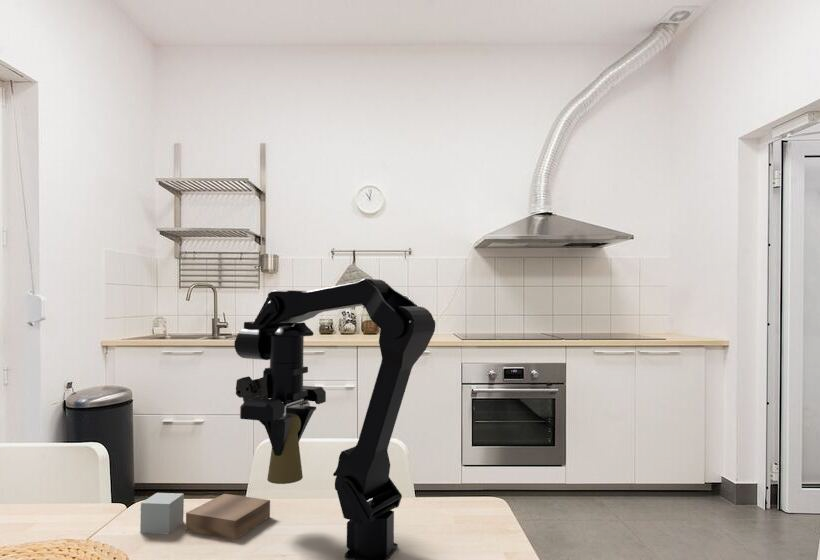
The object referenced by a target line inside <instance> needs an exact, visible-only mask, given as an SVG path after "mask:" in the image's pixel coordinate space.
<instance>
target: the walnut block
mask: <svg viewBox="0 0 820 560" xmlns="http://www.w3.org/2000/svg"><path fill="white" fill-rule="evenodd" d="M270 517H271V500H270V499H266V498H257V497H251V496H250V497H249V496H243V495H237V494H231V493H223V494H221V495H219V496H217V497H215V498H212V499H211V500H209V501H207V502H205V503H203V504H201V505H199V506H196V507H195V508H193V509H191V510H189V511H187V512H186V513H185V532H191V533H196V534H202V535H207V536H213V537H218V538H224V539H225V538H226V539H231V540H237V539H238V538H240V537H242V535H245V534H246V533H248V532H249V531H251V530H253V529H254V528H255V527H256V526H258V525H260V524H261V523H264V521H266V520H267V519H269V518H270Z"/></svg>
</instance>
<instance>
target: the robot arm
mask: <svg viewBox="0 0 820 560" xmlns="http://www.w3.org/2000/svg"><path fill="white" fill-rule="evenodd" d="M267 293H268V294H267V297H266V298H265V301H264V303H263V305H262V306H261V309H260V310H259V313H258V314H257V316H256V317H255V319H254V321H244V322H243V328H242V329H241V330H240V331H239V332H238V333H237V336H236V338H235V340H234V349H235V352H236V354H237V356H239V357H241V358H242V359H248V360H249V359H250V360H262V361H269V367H265V368H264V370H263V373H262V377H259V378H255V379H252V377H250V376H245V377H241V378H238V379H236V385H235V395H236V396H237V397H238V398H242V401H243V403H242V404H241V405H240V407H239V412H240V413H239V419H240V420H250V421H259V422H260V424H261V425H263V427H264V428H265V431H266V434H267V435H268V439H269V442H270V444H271V449H272V448H273V451H274V454H275V455H276V456H280V455H281V454H282V451H283V448H284V445H285V441H286V438H287V434H288V430H289V427H290V423H291V419H292V416H286V413H290V414H296V415H297V416H299V418H300V420H301V428H300V430H299V432H298V441H299V442H300V440H301V438H302V437H303V435H304V434H303V433H304V432H305V430H306V427H307V425H308V423H309V422H310V419H311V417H312V416H313V414H314V411H316V410H317V406H314V405H313V406H310V405H311V403H310V402H315V404H316V405H320V404H323V403H326V401H327V397H326V396H327V394H326V391H325V389H324V388H323V387H322V386H312V385H311V386H310V385H304V374H307V373H308V372H309V367H308V366H304V343H305V342H304V338H305V337H312V336H314V332H313V330H312V329H311V328H309V326H307V324H306V322H305V321H307V320H309V319H312V318H315V317H316V316H317V315H318V314H321V313H325V312H330V311H335V310H336V311H337V310H342V309H349V308H356V307H364V308H365V310H366V312H367V315H368V317H369V318H370V320H371V321H372V322H373V323H374V324H375V325H376V326H377V327H378V328H379V330H380V331H379V337H378V345H379V349H380V355H381V362H380V365H379V369H378V372H377V376H376V378H375V383H374V385H373V389H372V393H371V396H370V399H369V403H368V406H367V410H366V413H365V416H364V419H363V423H362V427H361V430H360V433H359V437H358V441H357V443H356V445H355V446H352V447H350V448H347V449H344V450H341V452H340V453H339V456H338V462H337V467H336V469H335V471H334V472H333V474H332V475H333V477H335V480H334V489H335V491H336V493H337V498H338V501H339V505H340V508H341V513H342V517H343V518H344V519H346V520H348V521H347V522H346V548H347V551H346V552H345V553H344V558H345V559H349V560H389V558H390V557H391V556H392V554H393V553H394V552H395V551H396V550H397V549H398V546H399V544H398V543H397V542H394V541H395V511H394V509H397V508H399V506H400V504H401V500H402V497H403V495H402V493H401V492H400V490H399V489H398V488H397V485H396V484H395V483H394V482H393V480H392V479H391V478H390V471H391V461H390V458H389V457H390V456H389V451H388V448H389V446H390V442H391V439H392V435H393V432H394V429H395V425H396V422H397V419H398V416H399V412H400V409H401V405H402V402H403V399H404V396H405V392H406V389H407V386H408V383H409V379H410V376H411V372H412V369H413V367H414V365H415V363H417V362H418V360H419V359H420V357H421V356H422V355H423V353H425V351H426V350H427V348H428V345H429V344H430V342H431V339H433V336H434V334H435V331H436V319H434V317H433V314H432V313H431V312H430V311H429V310H428V309H427V308H426V307H425V306H419V305H417V304H416V303H415V302H414V301H412V300H411V299H410V298H408V297H406V296H405V295H403V294H401V293H400V292H398V291H396V290H395V289H394V288H393V287H391V286H390V284H388V283H387V282H386V280H383V279H377V278H376V279H375V278H374V279H373V278H363V279H361V280H359V281H354V282H350V283H344V284H339V285H334V286H328V287H324V288H317V289H313V290H292V289H291V290H286V289H275V290H274V289H273V290H271V291H269V292H267Z"/></svg>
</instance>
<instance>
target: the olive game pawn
mask: <svg viewBox="0 0 820 560" xmlns="http://www.w3.org/2000/svg"><path fill="white" fill-rule="evenodd" d="M286 416H292V419H291V423H290V427H289V430H288V434H287V438H286V441H285V445H284V448H283V451H282V454H281V455H280V456H276V455H275V454H274V451H273V448H272V447H271V452H270V458H269V465H268V472H267V473H268V474H267V478H266V479H267V482H269V483H271V484H276V485H288V484H293V483H297V482H299V481H301V480H302V479H303V478H304V477H303V476H304V475H303V466H302V458H301V452H300V441H298V432H299V430H300V428H301V420H300V418H299V416H297V415H296V414H290V413H286Z"/></svg>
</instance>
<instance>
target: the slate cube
mask: <svg viewBox="0 0 820 560" xmlns="http://www.w3.org/2000/svg"><path fill="white" fill-rule="evenodd" d="M184 500H185V494H184V493H177V492H176V493H171V492H156V493H154V494H152V495H151V496H150V497H148V498H147V499H145V500H143V501H141V503H140V524H139V525H140V531H139V532H140V533H141V534H162V535H163V534H166V535H167V534H168V535H169V534H171V533H173V531H174V530H175V529H177V528H178V527H179V526H180V525H182V524H183V523H184V513H185V512H184V507H185V505H184V503H185V502H184Z"/></svg>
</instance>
